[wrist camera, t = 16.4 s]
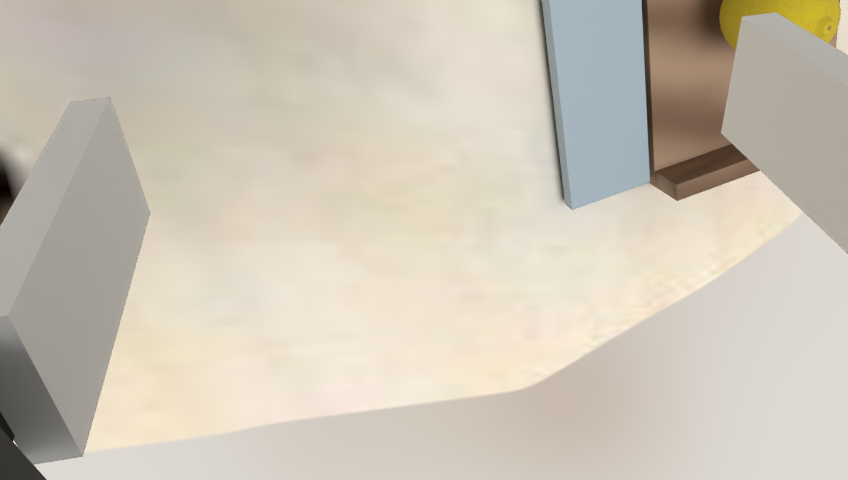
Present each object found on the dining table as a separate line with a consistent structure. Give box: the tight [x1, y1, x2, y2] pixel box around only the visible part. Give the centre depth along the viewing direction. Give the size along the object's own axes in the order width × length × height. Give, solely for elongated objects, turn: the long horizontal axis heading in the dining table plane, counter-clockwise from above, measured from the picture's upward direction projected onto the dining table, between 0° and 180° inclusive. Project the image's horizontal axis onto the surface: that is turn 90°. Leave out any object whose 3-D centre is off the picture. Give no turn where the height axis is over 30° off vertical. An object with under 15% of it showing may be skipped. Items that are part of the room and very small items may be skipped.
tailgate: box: [542, 0, 650, 210], centre depth 46 cm, size 21×1×6 cm
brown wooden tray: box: [641, 0, 840, 201], centre depth 46 cm, size 22×12×4 cm, turn 12°
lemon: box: [719, 0, 841, 51], centre depth 43 cm, size 6×6×8 cm
